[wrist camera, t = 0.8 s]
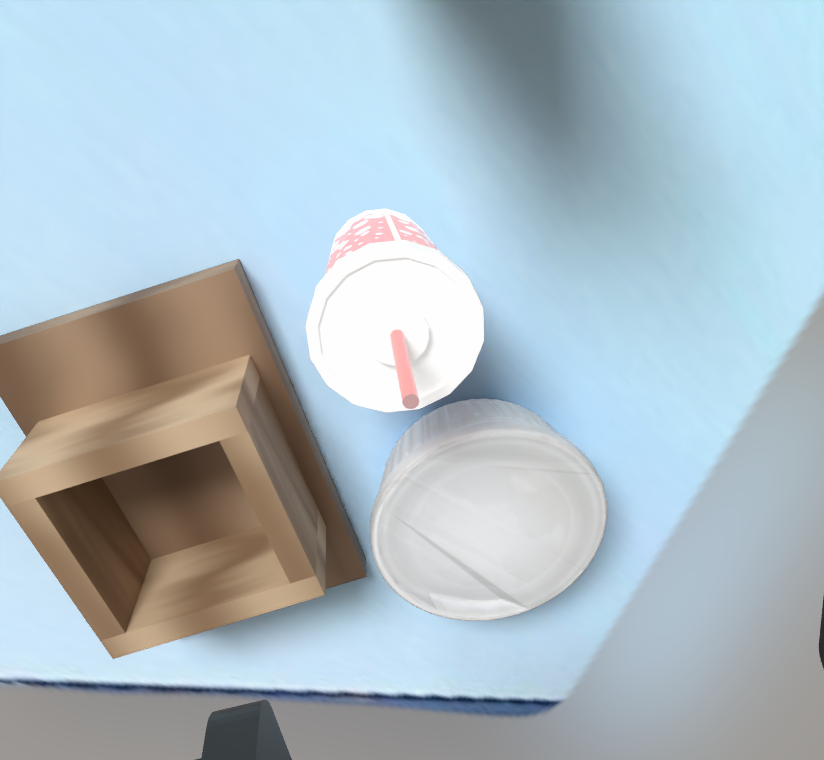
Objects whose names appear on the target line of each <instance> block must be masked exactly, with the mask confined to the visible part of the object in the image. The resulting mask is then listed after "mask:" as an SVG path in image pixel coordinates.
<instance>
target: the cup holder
mask: <svg viewBox="0 0 824 760" xmlns="http://www.w3.org/2000/svg"><path fill="white" fill-rule="evenodd" d="M0 397H1V398H2V400H3V402H4V403H5V405H6V406H7V408H8V409H9V411H10V412H11V414H12V415H13V417H14V419H15V420H16V422H17V423H18V425H19V426H20V428H21V429H22V431H23V433H24V434H25V436H26V438H25V440H24V441H23V442H22V443H21V445H20V446H19V447H18V449H17V450H16V451H15V452H14V454H13V455H12V456H11V458H10V459H9V460H8V462H7V463H6V464H5V465H4V467H3V468H2V469H1V471H0V498H1V499H2V500H3V502H4V503H5V505H6V506H7V508H8V509H9V510H10V512H11V513H12V515H13V516H14V518H15V519H16V520H17V522H18V523H19V525H20V526H21V528H22V529H23V531H24V532H25V533H26V535H27V536H28V538H29V539H30V541H31V542H32V543H33V545H34V546H35V548H36V549H37V551H38V552H39V553H40V555H41V556H42V558H43V559H44V561H45V562H46V564H47V565H48V566H49V568H50V569H51V571H52V572H53V574H54V575H55V576H56V578H57V579H58V581H59V582H60V584H61V585H62V586H63V588H64V589H65V591H66V592H67V594H68V595H69V597H70V598H71V599H72V601H73V602H74V604H75V605H76V607H77V608H78V609H79V611H80V612H81V614H82V615H83V617H84V618H85V619H86V621H87V622H88V624H89V625H90V627H91V628H92V630H93V631H94V632H95V634H96V635H97V637H98V638H99V640H100V641H101V642H102V644H103V645H104V647H105V648H106V650H107V651H108V652H109V654H110V655H111V657H112V658H113V659H114V658H118V657H121V656H124V655H128V654H131V653H134V652H138V651H141V650H144V649H148V648H151V647H154V646H158V645H161V644H164V643H168V642H171V641H174V640H178V639H181V638H184V637H188V636H191V635H194V634H198V633H201V632H204V631H207V630H211V629H214V628H217V627H221V626H224V625H227V624H231V623H234V622H237V621H241V620H244V619H247V618H251V617H254V616H257V615H261V614H264V613H267V612H271V611H274V610H277V609H281V608H284V607H287V606H291V605H294V604H297V603H301V602H304V601H307V600H311V599H314V598H317V597H321V596H324V595H325V589H327V588H330V587H334V586H337V585H340V584H344V583H347V582H350V581H354V580H357V579H360V578H364V577H367V576H366V559H365V556H364V554H363V551H362V549H361V547H360V544H359V542H358V539H357V537H356V535H355V532H354V530H353V528H352V525H351V523H350V521H349V518H348V516H347V513H346V511H345V509H344V506H343V504H342V502H341V499H340V497H339V495H338V492H337V490H336V487H335V485H334V483H333V480H332V478H331V476H330V473H329V471H328V469H327V466H326V464H325V462H324V459H323V457H322V454H321V452H320V450H319V447H318V445H317V443H316V440H315V438H314V436H313V433H312V431H311V428H310V426H309V424H308V421H307V419H306V417H305V414H304V412H303V410H302V407H301V405H300V402H299V400H298V398H297V395H296V393H295V391H294V388H293V386H292V384H291V381H290V379H289V376H288V374H287V372H286V369H285V367H284V365H283V362H282V360H281V358H280V355H279V353H278V351H277V348H276V346H275V343H274V341H273V339H272V336H271V334H270V332H269V329H268V327H267V325H266V322H265V320H264V317H263V315H262V313H261V310H260V308H259V306H258V303H257V301H256V299H255V296H254V294H253V291H252V289H251V287H250V284H249V282H248V280H247V277H246V275H245V273H244V270H243V268H242V265H241V263H240V261H239V259H237V260H234V261H231V262H228V263H225V264H222V265H218V266H215V267H212V268H209V269H206V270H203V271H200V272H197V273H194V274H191V275H187V276H184V277H181V278H178V279H175V280H172V281H169V282H166V283H163V284H159V285H156V286H153V287H150V288H147V289H144V290H141V291H138V292H135V293H132V294H128V295H125V296H122V297H119V298H116V299H113V300H110V301H107V302H104V303H101V304H97V305H94V306H91V307H88V308H85V309H82V310H79V311H76V312H73V313H70V314H66V315H63V316H60V317H57V318H54V319H51V320H48V321H45V322H42V323H38V324H35V325H32V326H29V327H26V328H23V329H20V330H17V331H14V332H11V333H7V334H4V335H1V336H0Z"/></svg>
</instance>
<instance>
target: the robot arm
mask: <svg viewBox="0 0 824 760" xmlns="http://www.w3.org/2000/svg"><path fill="white" fill-rule="evenodd" d="M819 653H820V658H821V662H822V665H823V668H824V599H823V608H822V619H821V628H820V639H819ZM197 760H292V759H291V757H290V754H289V751H288V749H287V746H286V744H285V741H284V739H283V736H282V733H281V731H280V728H279V726H278V723H277V720H276V718H275V715H274V712H273V710H272V707H271V705H270V703H269V702H268V701H267V700H262V701H257V702H253V703H249V704H245V705H240V706H236V707H232V708H227V709H223V710H219V711H215V712H212V713H211V715H210V717H209V719H208V723H207V728H206V734H205V740H204V746H203V752H202V758H201V759H197Z"/></svg>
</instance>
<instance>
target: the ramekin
mask: <svg viewBox="0 0 824 760" xmlns="http://www.w3.org/2000/svg"><path fill="white" fill-rule="evenodd" d="M606 521H607V500H606V495H605V490H604V486H603V482H602V481H601V479H600V477H599V475H598V474H597V472H596V470H595V468H594V467H593V465H592V464H591V462H590V461H589V459H588V458H587V457H586V456H585V455H584V453H583V452H582V451H581V450H580V449H579V448H578V447H577V446H575V445H574V444H573V443H572V442H570V441H569V440H568V439H566V438H565V437H563V436H561V435H559V434H558V433H557V432H556V431H555V430H554V429H553V428H552V427H551V426H550V425H549V424H548V423H546V422H545V421H544V420H543V419H542V418H541V417H540V416H538V415H536V414H535V413H534V412H532V411H531V410H528V409H525V408H524V407H522V406H521V405H517V404H513V403H511V402H509V401H502V400H499V399H486V398H482V399H469V400H465V401H458V402H455V403H451V404H447V405H445V406H442V407H439V408H437V409H435V410H434V411H432V412H430V413H428V414H426V415H424V416H423V417H422V418H421V419H419V420H418V421H416V422H415V423H413V424H412V426H411V427H410V428H409V429H407V430H406V431H405V432H404V433H403V435H402V437H401V438H400V439H399V440H398V441H397V442H396V445H395V446H394V448H393V449H392V451H391V453H390V456H389V458H388V460H387V462H386V465H385V470H384V473H383V477H382V482H381V486H380V491H379V493H378V495H377V498H376V500H375V502H374V506H373V509H372V514H371V521H370V539H371V547H372V552H373V556H374V560H375V562H376V565H377V567H378V569H379V571H380V573H381V574H382V576H383V578H384V579H385V581H386V582H387V583H388V585H389V586H390V587H391V588H392V589H393V590H394V591H395V592H396V593H397V594H398V595H400V596H401V597H402V598H403V599H405V600H406V601H407V602H409V603H410V604H412V605H414V606H416V607H418V608H420V609H422V610H424V611H426V612H429V613H431V614H435V615H438V616H442V617H445V618H450V619H457V620H468V621H480V620H494V619H500V618H505V617H510V616H513V615H517V614H520V613H523V612H526V611H529V610H531V609H533V608H536V607H538V606H540V605H542V604H544V603H545V602H547V601H549V600H551V599H552V598H554V597H556V596H557V595H558V594H560V593H561V592H563V591H564V590H565V589H566V588H568V587H569V586H570V585H571V584H572V583H573V582H574V581H575V580H576V579H577V578H578V577H579V576H580V575H581V574H582V573H583V572H584V570H585V569H586V568H587V567H588V565H589V564H590V562H591V561H592V559H593V557H594V556H595V554H596V552H597V550H598V548H599V545H600V543H601V541H602V538H603V535H604V532H605V528H606Z"/></svg>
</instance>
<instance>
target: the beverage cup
mask: <svg viewBox="0 0 824 760" xmlns="http://www.w3.org/2000/svg"><path fill="white" fill-rule="evenodd" d="M306 332H307V338H308V345H309V352H310V359H311V360H312V362H313V363H314V365H315V367H316V368H317V370H318V371H319V373H320V374H321V376H322V378H323V379H324V381H325V382H326V384H327V386H329V387H330V388H331V389H333V390H334V391H336V392H337V393H339V394H340V395H341V396H343V397H344V398H346V399H347V400H349V401H350V402H351V403H353V404H354V405H358V406H362V407H366V408H370V409H374V410H378V411H382V412H386V413H387V412H396V411H405V410H415V409H420V408H423V407H425V406H427V405H429V404H431V403H433V402H435V401H437V400H439V399H441V398H443V397H445V396H447V395H449V394H450V393H451V392H452V391H453V390H454V389H455V388H456V387H457V386H458V385H459V384H460V383H461V382H462V381H463V380H464V379H465V377H466V376H467V375H468V374H469V373H470V372H471V371H472V369H473V367H474V364H475V362H476V359H477V357H478V354H479V352H480V349H481V347H482V344H483V342H484V320H483V307H482V305H481V303H480V300H479V298H478V296H477V294H476V292H475V290H474V288H473V286H472V284H471V282H470V280H469V278H468V276H467V275H466V274H465V272H464V271H463V270H462V269H460V268H459V267H458V266H457V265H456V264H454V263H453V262H452V261H451V260H450V259H449V258H447V257H446V256H445V255H444V254H443V253H441V252H440V251H439V250H438V249H437V248H436V246H435V245H434V244H433V243H432V241H431V240H430V239H429V237H428V236H427V235H426V234H425V232H424V231H423V230H422V228H421V227H420V226H418V225H417V224H416V223H415V222H414V221H412V220H411V219H410V218H409V217H408V216H407V215H405V214H402V213H398V212H395V211H392V210H389V209H378V210H367V211H365V212H363V213H361V214H359V215H357V216H355V217H353V218H351V219H349V220H348V221H347V222H346V223H345V225H344V226H343V227H342V228H341V230H340V231H339V232H338V233H337V234H336V236H335V239H334V243H333V246H332V249H331V253H330V257H329V261H328V265H327V269H326V273H325V276H324V278H323V279H322V280H321V281H320V282H319V284H318V285H317V286H316V289H315V293H314V296H313V300H312V303H311V307H310V310H309V314H308V317H307V321H306Z"/></svg>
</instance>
